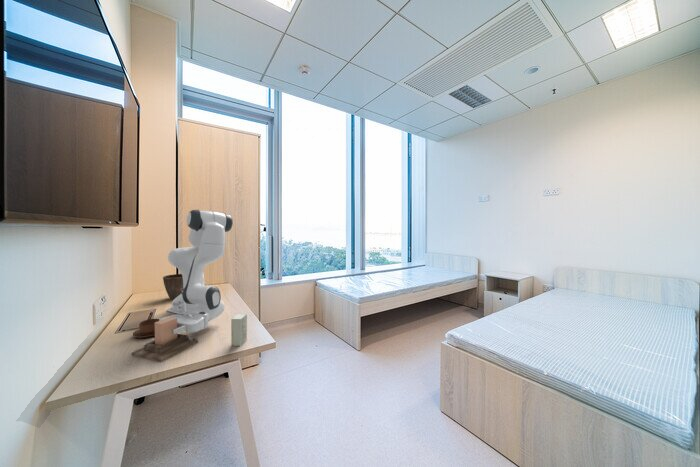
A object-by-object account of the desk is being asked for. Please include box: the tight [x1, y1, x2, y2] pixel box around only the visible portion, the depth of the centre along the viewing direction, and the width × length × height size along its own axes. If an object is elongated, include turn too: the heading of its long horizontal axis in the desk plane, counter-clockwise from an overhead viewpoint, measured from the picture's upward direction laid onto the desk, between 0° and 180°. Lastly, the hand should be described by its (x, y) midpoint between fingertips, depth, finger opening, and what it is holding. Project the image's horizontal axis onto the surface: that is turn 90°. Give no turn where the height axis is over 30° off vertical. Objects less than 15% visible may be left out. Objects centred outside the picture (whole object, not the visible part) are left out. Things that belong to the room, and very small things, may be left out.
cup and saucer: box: [132, 318, 160, 339], centre depth 116 cm, size 12×12×6 cm
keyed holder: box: [131, 333, 199, 363], centre depth 103 cm, size 16×16×4 cm
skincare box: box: [230, 313, 248, 347], centre depth 108 cm, size 6×4×12 cm
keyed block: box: [154, 317, 178, 346], centre depth 103 cm, size 4×6×11 cm, turn 164°
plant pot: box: [162, 273, 183, 301], centre depth 171 cm, size 15×15×16 cm
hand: (164, 330), depth 102 cm, fingers open, 8 cm apart
